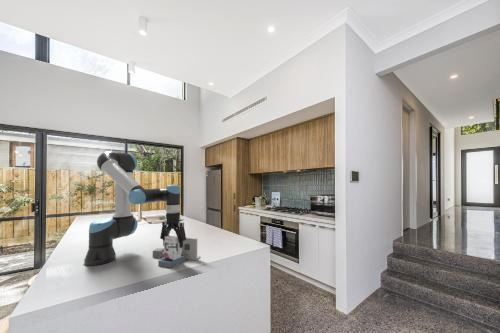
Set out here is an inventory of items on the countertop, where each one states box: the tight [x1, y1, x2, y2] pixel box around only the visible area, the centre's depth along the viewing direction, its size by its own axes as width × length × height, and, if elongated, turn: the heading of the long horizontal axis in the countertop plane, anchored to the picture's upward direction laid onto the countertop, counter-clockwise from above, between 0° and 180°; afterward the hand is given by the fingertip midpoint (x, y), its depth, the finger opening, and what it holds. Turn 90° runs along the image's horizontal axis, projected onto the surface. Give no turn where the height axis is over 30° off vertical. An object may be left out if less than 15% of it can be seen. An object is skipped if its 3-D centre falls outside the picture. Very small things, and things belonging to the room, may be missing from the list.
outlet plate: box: [181, 236, 201, 261], centre depth 133 cm, size 20×5×12 cm, turn 69°
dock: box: [157, 254, 187, 269], centre depth 123 cm, size 9×13×3 cm
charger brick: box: [152, 247, 165, 259], centre depth 134 cm, size 6×5×4 cm
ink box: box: [163, 234, 181, 260], centre depth 124 cm, size 8×5×12 cm, turn 60°
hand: (172, 252), depth 123 cm, fingers closed on ink box, 9 cm apart
